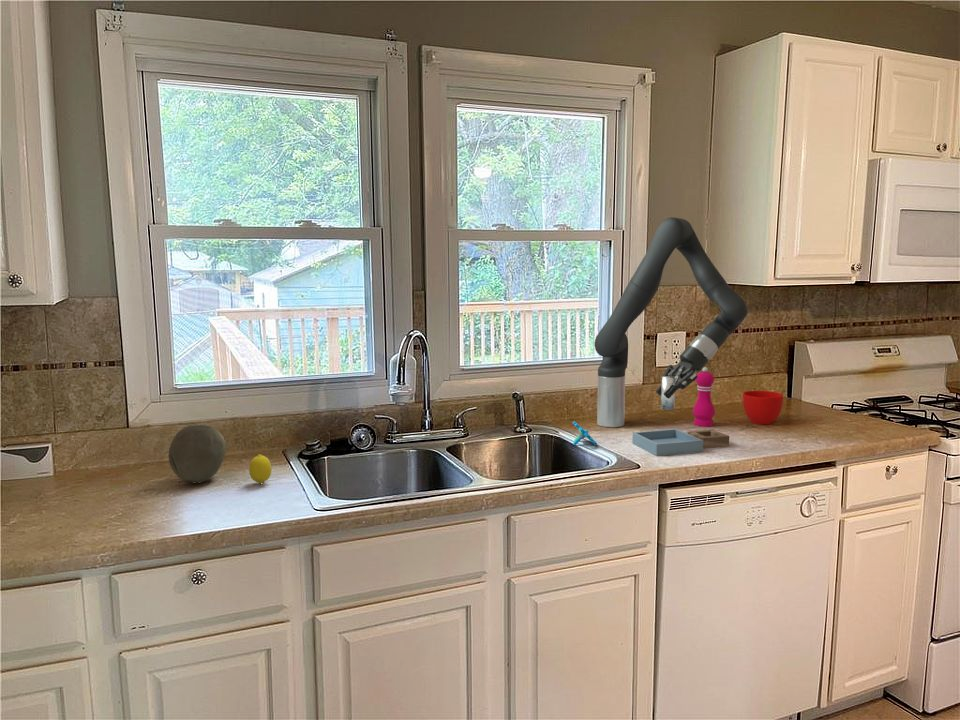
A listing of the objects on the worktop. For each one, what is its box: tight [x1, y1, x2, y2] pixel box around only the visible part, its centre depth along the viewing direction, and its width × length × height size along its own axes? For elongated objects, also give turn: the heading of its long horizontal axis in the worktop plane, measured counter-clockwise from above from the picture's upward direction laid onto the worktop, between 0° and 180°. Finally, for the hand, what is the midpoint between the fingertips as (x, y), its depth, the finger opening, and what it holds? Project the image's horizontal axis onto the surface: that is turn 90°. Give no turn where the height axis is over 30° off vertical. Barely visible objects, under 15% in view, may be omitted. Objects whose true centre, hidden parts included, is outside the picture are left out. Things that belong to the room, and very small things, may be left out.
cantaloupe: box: [168, 424, 227, 484], centre depth 188 cm, size 14×14×15 cm
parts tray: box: [631, 428, 704, 457], centre depth 215 cm, size 15×15×4 cm
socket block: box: [686, 429, 730, 449], centre depth 219 cm, size 9×9×3 cm
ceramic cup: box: [742, 390, 784, 426], centre depth 246 cm, size 13×17×10 cm
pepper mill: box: [692, 366, 716, 428], centre depth 242 cm, size 7×7×20 cm
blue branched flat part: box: [572, 420, 598, 446], centre depth 219 cm, size 11×6×10 cm
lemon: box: [248, 454, 272, 484], centre depth 185 cm, size 6×6×8 cm
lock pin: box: [660, 375, 676, 411], centre depth 213 cm, size 4×4×10 cm
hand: (662, 394), depth 212 cm, fingers closed on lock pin, 4 cm apart
